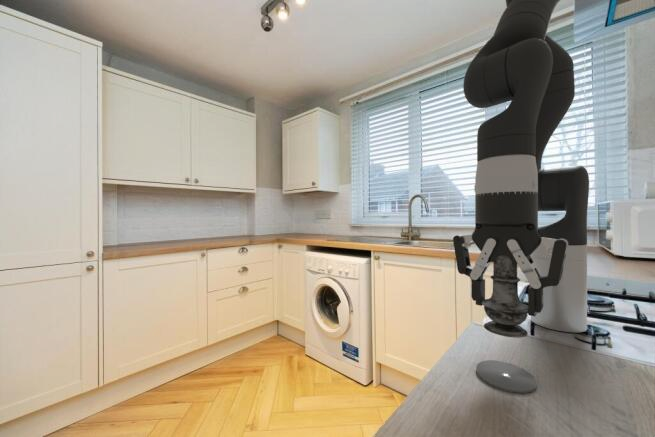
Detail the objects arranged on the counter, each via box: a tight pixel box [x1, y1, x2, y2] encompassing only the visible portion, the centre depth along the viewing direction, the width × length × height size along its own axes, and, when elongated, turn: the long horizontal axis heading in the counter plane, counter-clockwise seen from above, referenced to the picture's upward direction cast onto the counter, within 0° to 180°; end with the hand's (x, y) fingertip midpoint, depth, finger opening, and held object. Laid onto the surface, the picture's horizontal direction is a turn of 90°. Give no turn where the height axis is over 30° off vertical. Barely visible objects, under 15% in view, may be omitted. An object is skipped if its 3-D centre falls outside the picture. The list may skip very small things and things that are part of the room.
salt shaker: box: [482, 255, 529, 339], centre depth 40 cm, size 6×6×12 cm
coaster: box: [476, 359, 537, 394], centre depth 40 cm, size 7×7×1 cm
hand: (504, 308), depth 40 cm, fingers closed on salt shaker, 6 cm apart
